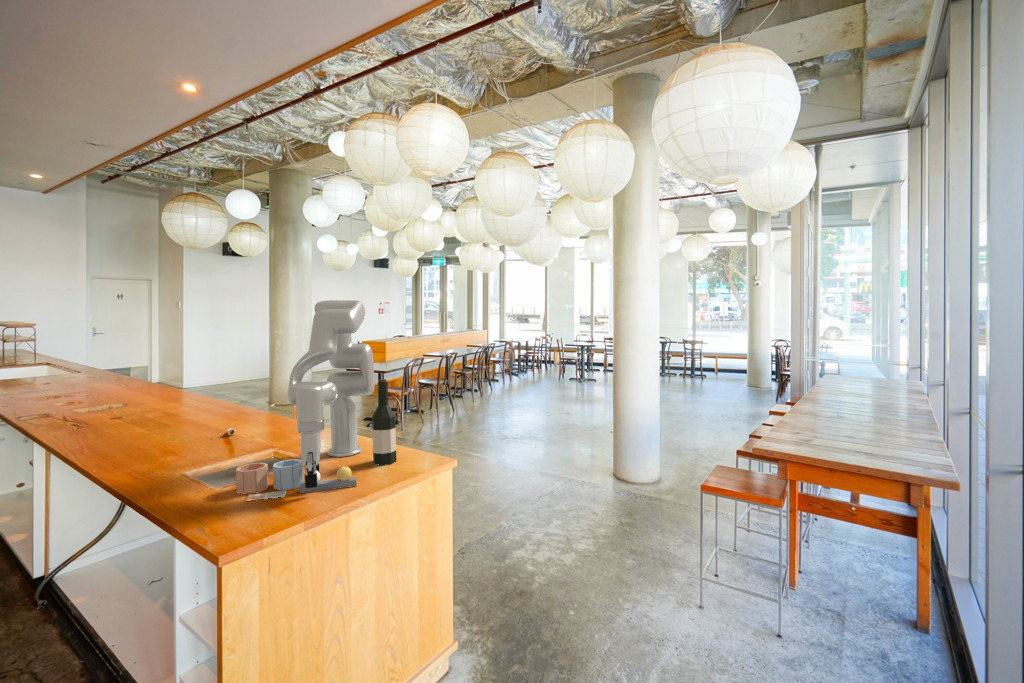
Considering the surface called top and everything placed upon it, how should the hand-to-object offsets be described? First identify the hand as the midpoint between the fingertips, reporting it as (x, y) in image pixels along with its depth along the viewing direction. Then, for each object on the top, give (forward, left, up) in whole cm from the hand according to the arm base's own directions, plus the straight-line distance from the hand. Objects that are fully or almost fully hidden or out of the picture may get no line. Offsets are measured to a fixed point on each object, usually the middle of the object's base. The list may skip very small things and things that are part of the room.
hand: (312, 482), depth 141 cm
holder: (0, +5, -2) cm, 5 cm away
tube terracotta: (-7, -17, -2) cm, 19 cm away
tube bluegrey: (-7, -7, -2) cm, 11 cm away
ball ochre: (0, +9, -1) cm, 9 cm away
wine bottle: (-21, +23, -3) cm, 31 cm away
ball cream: (0, 0, -1) cm, 1 cm away
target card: (+1, -12, -2) cm, 13 cm away
